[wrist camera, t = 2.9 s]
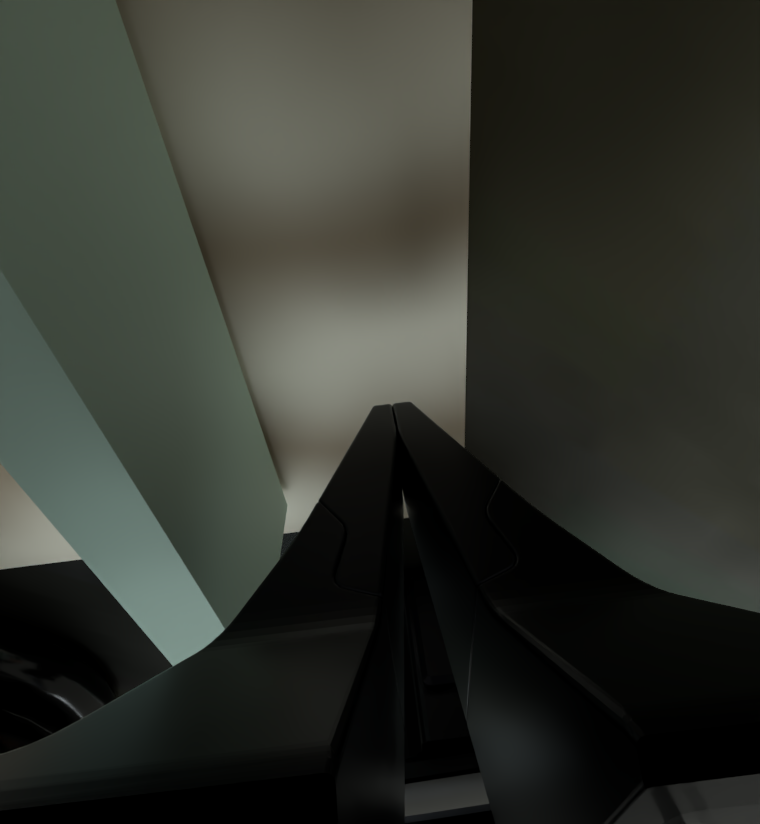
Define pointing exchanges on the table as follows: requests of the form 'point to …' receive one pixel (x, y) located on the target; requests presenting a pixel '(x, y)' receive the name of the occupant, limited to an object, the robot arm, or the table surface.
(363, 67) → the gate base
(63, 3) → the gate
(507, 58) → the table surface
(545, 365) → the table surface
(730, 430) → the table surface
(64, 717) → the amphora vase
